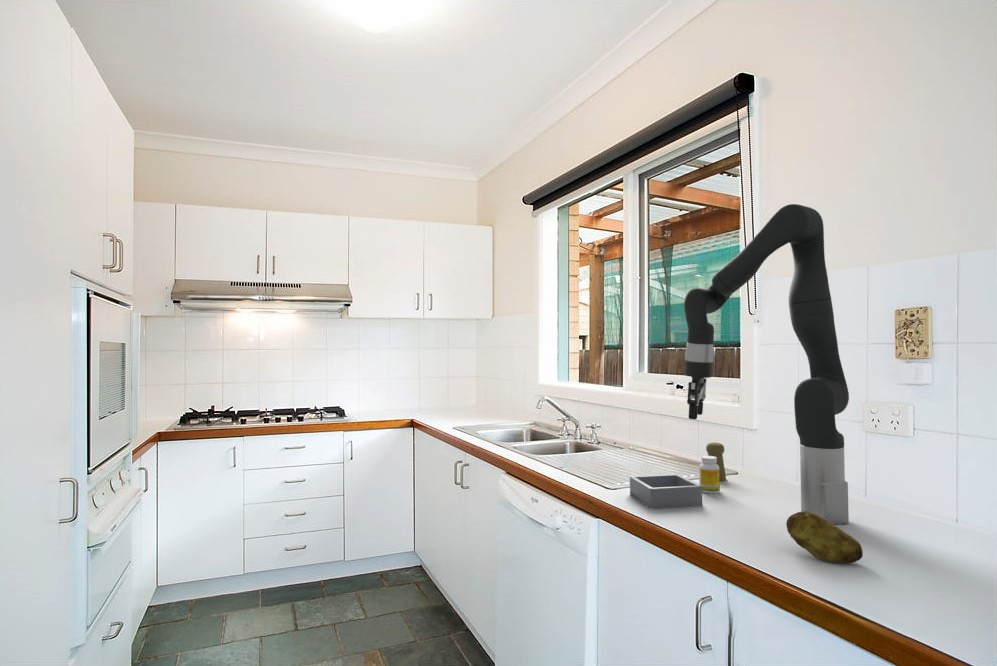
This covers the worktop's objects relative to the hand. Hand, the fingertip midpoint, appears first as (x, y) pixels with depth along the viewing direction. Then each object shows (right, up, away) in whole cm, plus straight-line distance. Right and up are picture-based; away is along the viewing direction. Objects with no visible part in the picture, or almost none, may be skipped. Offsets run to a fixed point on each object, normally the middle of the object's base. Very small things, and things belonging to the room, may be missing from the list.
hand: (695, 416), depth 168 cm
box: (-11, -21, -10) cm, 26 cm away
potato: (+7, -20, -52) cm, 57 cm away
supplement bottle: (+4, -21, -1) cm, 21 cm away
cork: (+10, -21, +13) cm, 27 cm away
